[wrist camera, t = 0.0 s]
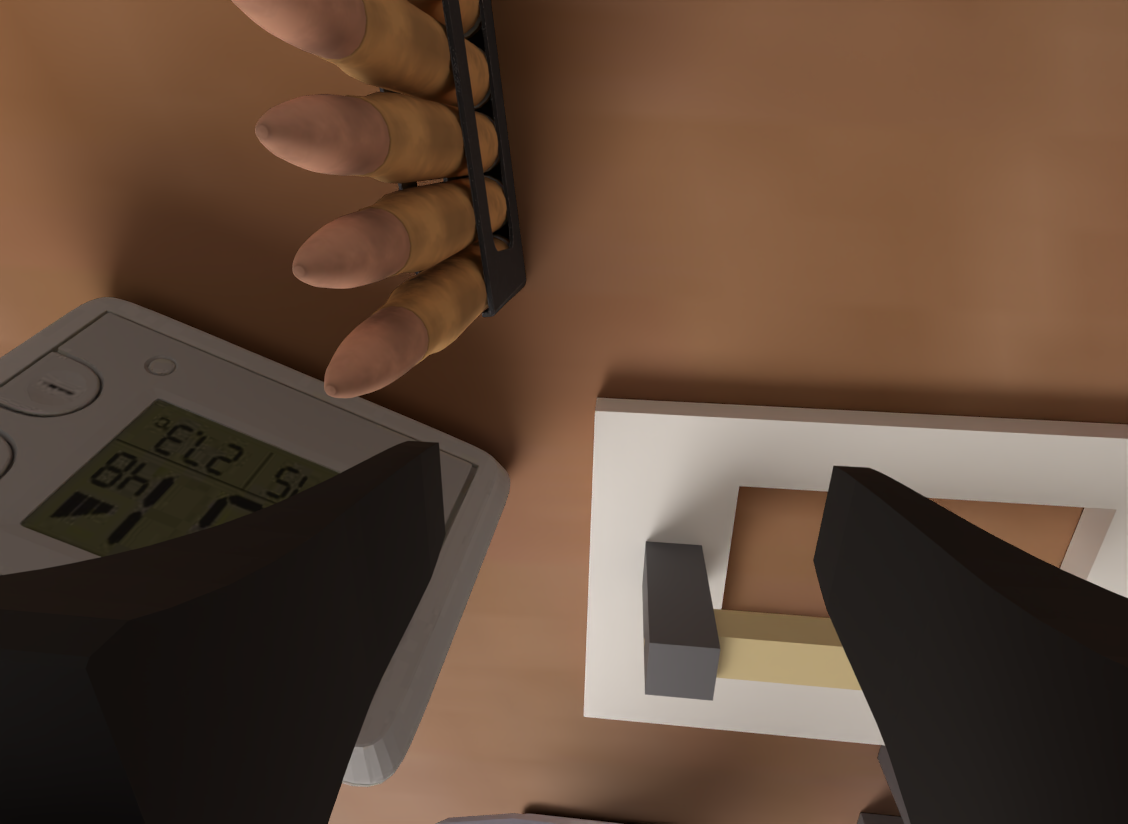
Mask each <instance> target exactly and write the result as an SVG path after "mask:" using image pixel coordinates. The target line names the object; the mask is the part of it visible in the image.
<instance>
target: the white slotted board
mask: <svg viewBox="0 0 1128 824" xmlns="http://www.w3.org/2000/svg"><path fill="white" fill-rule="evenodd" d="M833 466H850V467H868V468H872V469H874V470H876V471H879V472H881V473H883V474H885V475H887V476H889V477H891V478H893V479H894V480H896V481H898V482H900V483H902V484H904V485H905V486H907V487H909V488H911V489H912V490H914V491H916V492H918V493H919V494H921V495H923V496H925V497H926V498H940V499H956V500H972V501H988V502H1005V503H1021V504H1037V505H1053V506H1069V507H1085V508H1084V510H1083V513H1082V515H1081V517H1080V520H1079V522H1078V525H1077V527H1076V530H1075V532H1074V535H1073V537H1072V540H1071V542H1070V545H1069V547H1068V550H1067V552H1066V555H1065V557H1064V559H1063V562H1062V564H1061V567H1060V569H1062V570H1064V571H1066V572H1068V573H1071V574H1073V575H1075V576H1077V577H1080V578H1082V579H1084V580H1087V581H1089V582H1091V583H1093V584H1096V585H1098V586H1100V587H1102V588H1105V589H1107V590H1109V591H1112V592H1114V593H1116V594H1119V595H1121V596H1124V597H1126V598H1128V424H1109V423H1089V422H1069V421H1049V420H1030V419H1010V418H990V417H970V416H951V415H931V414H911V413H891V412H871V411H852V410H832V409H812V408H792V407H773V406H753V405H733V404H713V403H694V402H674V401H654V400H634V399H614V398H597V401H596V408H595V428H594V455H593V481H592V508H591V535H590V561H589V588H588V615H587V641H586V668H585V695H584V717H592V718H603V719H613V720H624V721H634V722H645V723H655V724H666V725H676V726H687V727H697V728H707V729H718V730H728V731H739V732H749V733H760V734H770V735H781V736H791V737H802V738H812V739H822V740H833V741H843V742H854V743H864V744H875V745H885V744H884V741H883V739H882V736H881V733H880V731H879V728H878V726H877V723H876V721H875V719H874V717H873V714H872V712H871V710H870V707H869V705H868V703H867V701H866V698H865V696H864V694H863V692H862V689H861V687H860V685H859V683H858V680H857V678H856V676H855V674H854V671H853V669H852V667H851V665H850V662H849V660H848V658H847V656H846V653H845V651H844V649H843V647H842V644H841V642H840V640H839V637H838V635H837V633H836V630H835V628H834V626H833V623H832V621H831V619H830V618H823V617H810V616H797V615H785V614H772V613H760V612H747V611H734V610H722V609H721V608H722V601H723V594H724V587H725V580H726V573H727V567H728V560H729V553H730V546H731V539H732V532H733V525H734V518H735V511H736V505H737V498H738V491H739V486H746V487H762V488H778V489H794V490H810V491H827V492H828V489H829V484H830V480H831V475H832V470H833Z"/></svg>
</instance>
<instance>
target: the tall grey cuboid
mask: <svg viewBox="0 0 1128 824" xmlns="http://www.w3.org/2000/svg"><path fill="white" fill-rule="evenodd" d="M878 760H879V763H880V765H881V768H882V770H883V773H884V775H885V778H886V780H887V783H888V785H889V788H890V790H891V792H892V795H893V797H894V800H895V802H896V805H897V807H898V810H899V812H900V815H901V817H897V816H888V815H878V814H869V813H860V816H859V819H858V823H857V824H910V820H909V817H908V814H907V810H906V807H905V804H904V801H903V798H902V795H901V792H900V789H899V786H898V782H897V779H896V776H895V773H894V770H893V767H892V764H891V761H890V758H889V754H888V752H887V749H886V746H885V745H881V748H880V751H879V754H878Z"/></svg>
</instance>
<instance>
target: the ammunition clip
mask: <svg viewBox="0 0 1128 824" xmlns="http://www.w3.org/2000/svg"><path fill="white" fill-rule="evenodd" d="M231 1H232V2H233V3H234V4H235V5H236V6H237V7H238V8H240V9H241V10H242V11H243V12H244V13H245V14H246V15H247V16H248V17H249V18H250V19H251V20H253V21H254V22H255V23H256V24H258V25H259V26H260V27H262V28H263V29H264V30H266V31H267V32H269V33H271V34H272V35H274V36H276V37H278V38H279V39H281V40H283V41H285V42H287V43H289V44H291V45H293V46H295V47H297V48H299V49H301V50H303V51H306V52H309V53H311V54H314V55H315V56H318V57H320V58H322V59H324V60H326V61H328V62H331V63H333V64H335V65H337V66H338V67H339V68H340V69H341V70H342V71H343V72H345V73H346V74H347V75H349V76H351V77H353V78H355V79H357V80H359V81H361V82H363V83H366V84H369V85H372V86H376V87H379V88H380V92H376V93H373V94H370V95H367V96H364V97H363V96H349V95H347V96H341V95H329V94H319V95H306V96H302V97H298V98H294V99H291V100H288V101H286V102H283V103H281V104H279V105H276V106H274V107H272V108H270V109H269V110H268V111H267V112H265V113H264V114H263V115H262V116H261V117H260V119H259V120H258V122H257V124H256V127H255V133H256V136H257V138H258V139H259V141H260V142H261V143H262V144H263V145H264V146H265V147H266V148H267V149H268V150H269V151H270V152H272V153H273V154H274V155H276V156H277V157H279V158H281V159H283V160H285V161H287V162H289V163H292V164H294V165H296V166H298V167H301V168H304V169H306V170H310V171H313V172H319V173H324V174H331V175H343V176H346V175H352V176H362V177H372V178H374V179H376V180H378V181H381V182H388V183H398V186H399V191H395V192H392V193H389V194H386V195H384V196H383V197H382V198H381V199H380V200H378V201H377V202H376V203H375V204H374V205H372V206H369V207H366V208H363V209H360V210H359V211H357V212H354V213H351V214H347V215H344V216H341V217H339V218H337V219H335V220H333V221H331V222H329V223H327V224H326V225H324V226H323V227H321V228H320V229H319V230H318V231H316V232H315V233H314V234H313V235H312V236H311V237H310V238H308V239H307V240H306V242H305V243H304V244H303V245H302V246H301V247H300V248H299V250H298V252H297V254H296V256H295V258H294V261H293V266H292V270H293V274H294V275H295V276H296V277H297V278H298V279H299V280H301V281H303V282H304V283H307V284H309V285H312V286H315V287H323V288H335V289H346V288H354V287H359V286H363V285H367V284H371V283H374V282H377V281H380V280H383V279H385V278H388V277H391V276H395V275H398V274H400V273H416V275H415V276H413V277H411V278H410V279H408V280H406V281H405V282H404V283H403V284H401V285H400V286H399V287H398V288H396V289H395V290H394V291H393V292H392V294H391V295H390V297H389V299H388V300H387V302H386V303H385V304H384V305H383V306H382V307H380V308H379V309H378V310H376V311H375V312H374V313H373V314H372V315H371V316H370V317H369V318H367V319H366V320H365V321H363V322H362V323H361V324H359V325H358V326H357V327H356V328H355V329H354V330H353V331H352V332H351V333H350V334H349V335H348V336H347V337H346V338H345V339H344V340H343V342H342V343H341V344H340V346H339V347H338V349H337V350H336V352H335V354H334V356H333V358H332V359H331V361H330V363H329V365H328V367H327V369H326V373H325V379H324V389H325V392H326V394H328V395H329V396H331V397H335V398H353V397H357V396H360V395H364V394H368V393H371V392H374V391H376V390H379V389H381V388H383V387H385V386H387V385H389V384H390V383H392V382H393V381H395V380H397V379H398V378H400V377H401V376H402V375H404V374H405V373H407V372H408V371H409V370H410V369H411V368H412V367H414V366H415V365H417V364H418V363H419V362H421V361H422V360H424V359H425V358H426V357H427V356H428V355H430V354H433V353H436V352H439V351H441V350H443V349H444V348H446V347H447V346H448V345H450V344H451V343H452V342H454V341H455V340H456V339H457V338H458V337H459V336H460V334H461V333H462V332H463V331H464V330H465V329H466V328H467V327H468V326H469V325H470V324H471V323H472V322H473V321H474V320H475V319H476V318H477V317H478V316H479V315H480V314H481V313H482V316H483V317H491V316H494V315H495V314H496V313H497V312H498V311H499V310H500V309H501V308H502V307H503V306H504V305H505V304H506V303H507V302H508V301H509V300H510V299H511V298H512V297H514V296H515V295H516V294H517V293H518V292H519V291H520V290H521V289H522V288H523V287H524V286H525V283H526V274H525V266H524V258H523V251H522V243H521V235H520V227H519V219H518V211H517V203H516V195H515V187H514V179H513V172H512V164H511V156H510V148H509V140H508V132H507V124H506V116H505V108H504V100H503V93H502V85H501V77H500V69H499V61H498V53H497V45H496V37H495V29H494V21H493V14H492V6H491V0H231ZM400 93H402V94H400ZM404 94H405V95H404ZM408 95H409V96H408ZM412 96H413V97H412ZM441 178H443V179H444V182H440V183H435V184H429V185H424V186H418V187H417V182H416V181H424V180H433V179H441ZM487 306H488V308H487V309H486V310H485V308H486V307H487ZM484 310H485V311H484ZM483 311H484V312H483Z"/></svg>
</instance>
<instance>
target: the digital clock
mask: <svg viewBox="0 0 1128 824" xmlns="http://www.w3.org/2000/svg"><path fill="white" fill-rule="evenodd" d="M405 441H421V442H438V443H439V450H440V464H441V478H442V492H443V505H444V519H445V533H446V535H445V538H444V541H443V544H442V548H441V551H440V554H439V557H438V560H437V563H436V566H435V569H434V572H433V575H432V578H431V580H430V582H429V584H428V586H427V588H426V591H425V593H424V595H423V597H422V599H421V601H420V603H419V605H418V607H417V609H416V611H415V613H414V615H413V617H412V619H411V621H410V623H409V625H408V627H407V629H406V631H405V633H404V635H403V637H402V639H401V641H400V643H399V645H398V647H397V649H396V651H395V653H394V655H393V657H392V659H391V661H390V663H389V665H388V667H387V669H386V671H385V673H384V675H383V677H382V679H381V681H380V684H379V686H378V688H377V690H376V693H375V695H374V697H373V699H372V702H371V704H370V707H369V710H368V712H367V715H366V718H365V720H364V723H363V726H362V728H361V731H360V734H359V736H358V739H357V742H356V744H355V747H354V750H353V752H352V755H351V758H350V761H349V764H348V767H347V770H346V772H345V775H344V778H343V781H342V783H343V784H347V785H350V786H361V787H369V786H373V785H377V784H381V783H383V782H384V781H385V780H387V779H388V778H389V777H390V776H392V775H393V774H394V773H395V771H396V770H397V768H398V767H399V765H400V764H401V762H402V761H403V759H404V757H405V755H406V753H407V751H408V749H409V747H410V745H411V743H412V740H413V738H414V736H415V733H416V731H417V728H418V726H419V724H420V721H421V719H422V717H423V714H424V712H425V709H426V707H427V704H428V702H429V699H430V697H431V694H432V691H433V689H434V686H435V684H436V681H437V678H438V676H439V673H440V671H441V668H442V666H443V663H444V660H445V658H446V655H447V653H448V650H449V648H450V645H451V642H452V640H453V637H454V635H455V632H456V630H457V627H458V624H459V622H460V619H461V617H462V614H463V612H464V609H465V606H466V604H467V601H468V599H469V596H470V593H471V591H472V588H473V586H474V583H475V581H476V578H477V575H478V573H479V570H480V568H481V565H482V563H483V560H484V557H485V555H486V552H487V550H488V547H489V545H490V542H491V539H492V537H493V534H494V532H495V529H496V527H497V524H498V521H499V519H500V516H501V514H502V511H503V508H504V506H505V503H506V500H507V497H508V494H509V490H510V478H509V475H508V472H507V471H506V470H505V469H504V468H503V467H502V466H501V465H500V464H499V463H498V462H497V461H496V460H495V459H494V458H493V457H492V456H491V455H490V454H488V453H487V452H485V451H483V450H481V449H479V448H477V447H475V446H473V445H471V444H469V443H466V442H464V441H462V440H460V439H457V438H455V437H453V436H451V435H448V434H446V433H444V432H441V431H439V430H437V429H434V428H432V427H430V426H427V425H425V424H423V423H420V422H418V421H416V420H413V419H411V418H408V417H406V416H404V415H401V414H399V413H396V412H394V411H392V410H389V409H387V408H385V407H382V406H380V405H377V404H375V403H373V402H370V401H368V400H365V399H363V398H361V397H358V396H357V397H353V398H335V397H331V396H329V395H328V394H326V392H325V389H324V382H323V381H320V380H318V379H315V378H313V377H311V376H308V375H306V374H303V373H301V372H299V371H296V370H294V369H292V368H289V367H287V366H284V365H282V364H280V363H277V362H275V361H272V360H270V359H268V358H265V357H263V356H261V355H258V354H256V353H253V352H251V351H249V350H246V349H244V348H241V347H239V346H237V345H234V344H232V343H230V342H227V341H225V340H222V339H220V338H218V337H215V336H213V335H211V334H208V333H206V332H203V331H201V330H199V329H196V328H194V327H191V326H189V325H187V324H184V323H182V322H179V321H177V320H174V319H172V318H170V317H167V316H165V315H162V314H160V313H157V312H155V311H152V310H149V309H147V308H144V307H142V306H139V305H137V304H134V303H131V302H128V301H125V300H122V299H118V298H114V297H102V298H97V299H94V300H91V301H89V302H86V303H84V304H82V305H80V306H79V307H77V308H75V309H74V310H72V311H71V312H69V313H67V314H66V315H64V316H63V317H61V318H60V319H58V320H57V321H55V322H54V323H52V324H51V325H49V326H48V327H46V328H45V329H43V330H42V331H40V332H39V333H37V334H36V335H34V336H33V337H31V338H30V339H28V340H27V341H25V342H24V343H22V344H21V345H19V346H18V347H16V348H15V349H13V350H12V351H10V352H9V353H7V354H6V355H4V356H3V357H1V358H0V575H6V574H12V573H19V572H25V571H31V570H38V569H44V568H49V567H55V566H60V565H65V564H71V563H75V562H80V561H85V560H90V559H94V558H99V557H104V556H108V555H113V554H117V553H121V552H125V551H129V550H134V549H138V548H142V547H146V546H150V545H153V544H157V543H160V542H163V541H167V540H170V539H174V538H177V537H180V536H184V535H187V534H191V533H194V532H198V531H201V530H204V529H208V528H211V527H214V526H217V525H220V524H223V523H226V522H228V521H231V520H234V519H237V518H239V517H242V516H245V515H248V514H250V513H253V512H256V511H258V510H261V509H263V508H266V507H268V506H271V505H273V504H275V503H278V502H280V501H282V500H285V499H287V498H289V497H291V496H293V495H295V494H298V493H300V492H302V491H304V490H306V489H308V488H310V487H313V486H315V485H317V484H319V483H321V482H323V481H326V480H328V479H330V478H332V477H334V476H336V475H338V474H339V473H341V472H343V471H345V470H347V469H349V468H351V467H353V466H355V465H357V464H359V463H361V462H363V461H365V460H367V459H369V458H371V457H373V456H375V455H376V454H378V453H380V452H382V451H384V450H387V449H389V448H391V447H393V446H395V445H397V444H400V443H403V442H405Z"/></svg>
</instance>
